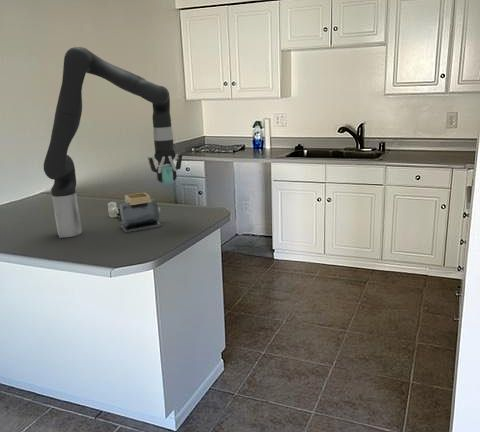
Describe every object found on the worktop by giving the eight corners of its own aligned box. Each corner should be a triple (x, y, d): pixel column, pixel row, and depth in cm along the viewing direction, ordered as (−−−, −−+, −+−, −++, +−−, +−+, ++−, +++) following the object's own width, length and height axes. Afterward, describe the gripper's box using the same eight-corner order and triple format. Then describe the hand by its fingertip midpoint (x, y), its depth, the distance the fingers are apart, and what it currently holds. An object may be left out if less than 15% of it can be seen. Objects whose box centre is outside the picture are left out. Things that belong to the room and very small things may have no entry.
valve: (105, 217, 220) (118, 222, 211) (103, 203, 218) (116, 207, 209) (117, 214, 224) (131, 218, 216) (115, 200, 222) (129, 204, 214)
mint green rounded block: (159, 183, 192) (158, 166, 190) (171, 181, 194) (169, 164, 192) (164, 186, 186) (163, 168, 184) (176, 184, 188) (175, 166, 186)
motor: (126, 232, 195) (122, 200, 191) (120, 226, 204) (116, 196, 200) (164, 225, 202) (161, 194, 198) (157, 220, 210) (154, 190, 207)
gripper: (148, 141, 179) (152, 185, 184) (184, 137, 185) (187, 180, 190) (143, 139, 186) (147, 181, 191) (177, 136, 192) (181, 177, 197)
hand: (167, 180), depth 190 cm, fingers closed on mint green rounded block, 5 cm apart
